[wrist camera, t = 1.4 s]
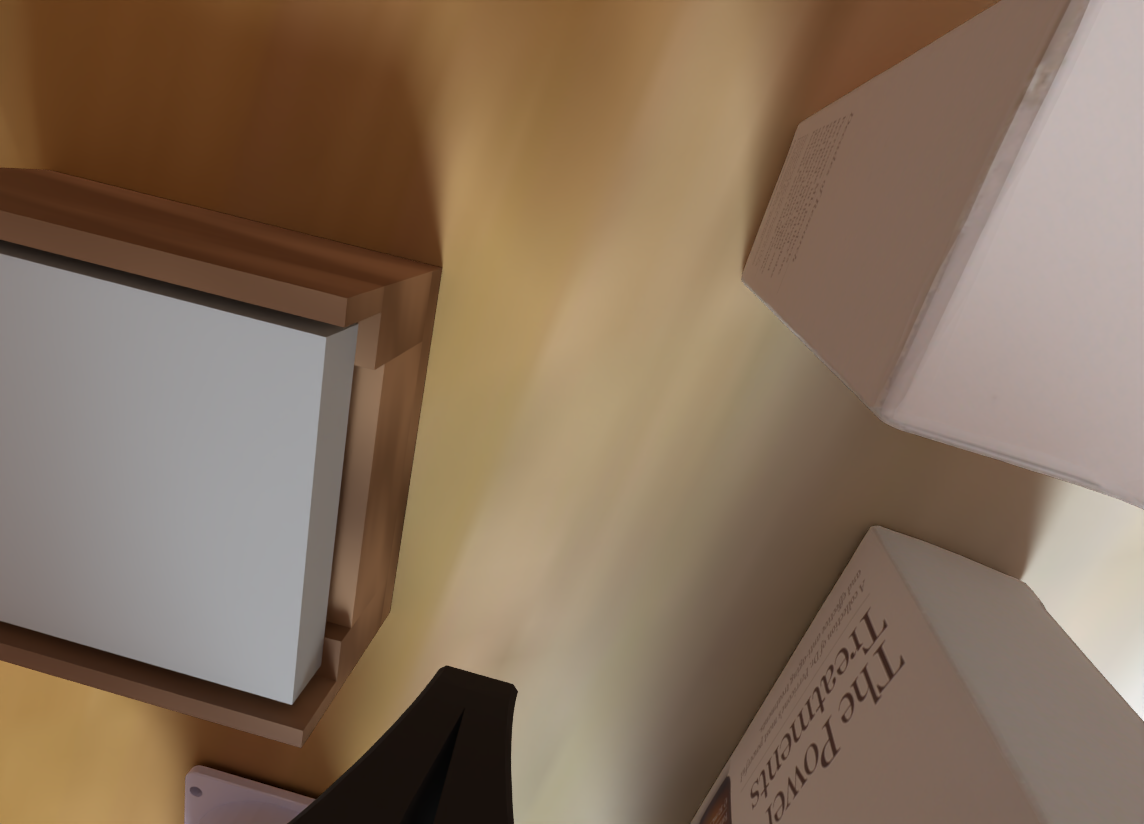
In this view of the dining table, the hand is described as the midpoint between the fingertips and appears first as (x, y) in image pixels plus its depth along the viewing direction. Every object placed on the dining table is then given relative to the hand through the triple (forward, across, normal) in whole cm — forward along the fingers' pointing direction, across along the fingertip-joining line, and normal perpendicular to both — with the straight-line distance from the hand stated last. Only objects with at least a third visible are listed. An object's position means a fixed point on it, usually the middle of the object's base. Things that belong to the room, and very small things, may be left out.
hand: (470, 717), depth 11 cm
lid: (+5, +10, 0) cm, 11 cm away
